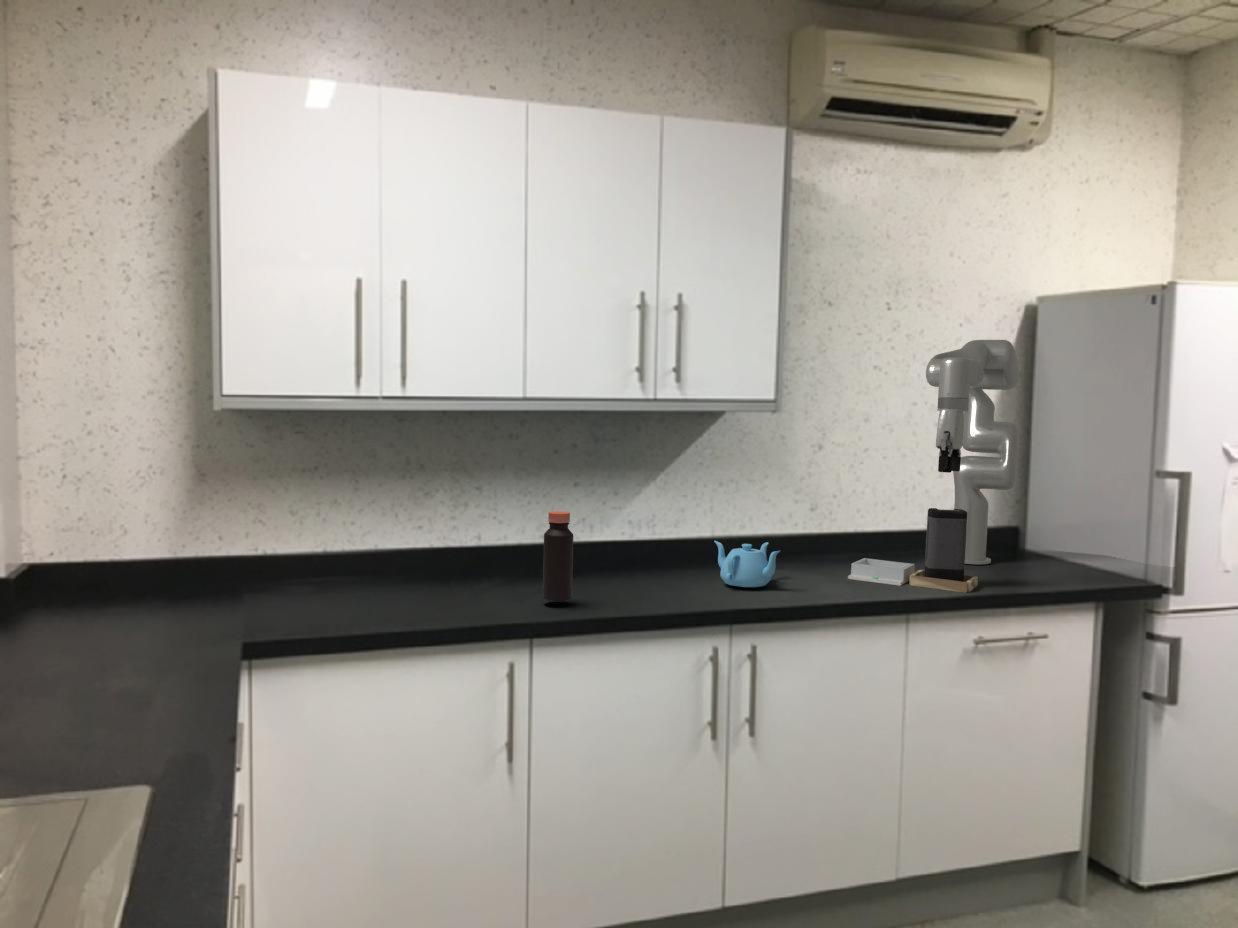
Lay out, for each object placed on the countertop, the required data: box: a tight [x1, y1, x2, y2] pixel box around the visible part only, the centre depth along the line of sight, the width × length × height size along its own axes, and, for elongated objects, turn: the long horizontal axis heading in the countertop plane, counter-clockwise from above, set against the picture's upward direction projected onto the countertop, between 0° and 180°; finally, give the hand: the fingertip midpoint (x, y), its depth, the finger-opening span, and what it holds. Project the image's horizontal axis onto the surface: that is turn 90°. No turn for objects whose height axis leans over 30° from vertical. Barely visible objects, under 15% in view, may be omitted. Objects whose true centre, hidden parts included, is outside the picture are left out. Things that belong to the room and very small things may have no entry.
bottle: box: [542, 510, 574, 602], centre depth 213 cm, size 7×7×20 cm
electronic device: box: [924, 507, 967, 582], centre depth 242 cm, size 9×6×20 cm, turn 84°
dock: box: [847, 557, 916, 587], centre depth 251 cm, size 16×14×4 cm
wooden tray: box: [908, 569, 979, 593], centre depth 242 cm, size 12×15×2 cm
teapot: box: [713, 540, 781, 588], centre depth 237 cm, size 15×15×10 cm
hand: (949, 471), depth 240 cm, fingers open, 9 cm apart
